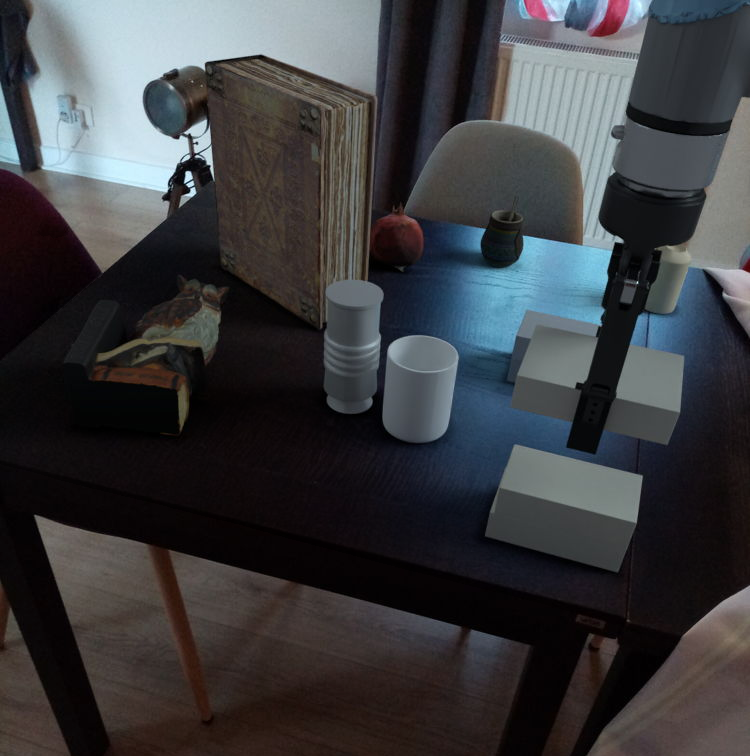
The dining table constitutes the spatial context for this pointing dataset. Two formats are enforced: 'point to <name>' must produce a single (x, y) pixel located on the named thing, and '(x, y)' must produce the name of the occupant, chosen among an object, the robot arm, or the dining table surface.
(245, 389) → the dining table surface
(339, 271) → the book
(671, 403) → the white box lid
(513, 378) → the grey stack
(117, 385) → the bookend
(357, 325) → the grey ribbed cylinder
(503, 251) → the mate gourd
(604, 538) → the white stack
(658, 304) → the cream cylinder
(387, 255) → the fruit
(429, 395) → the mug
